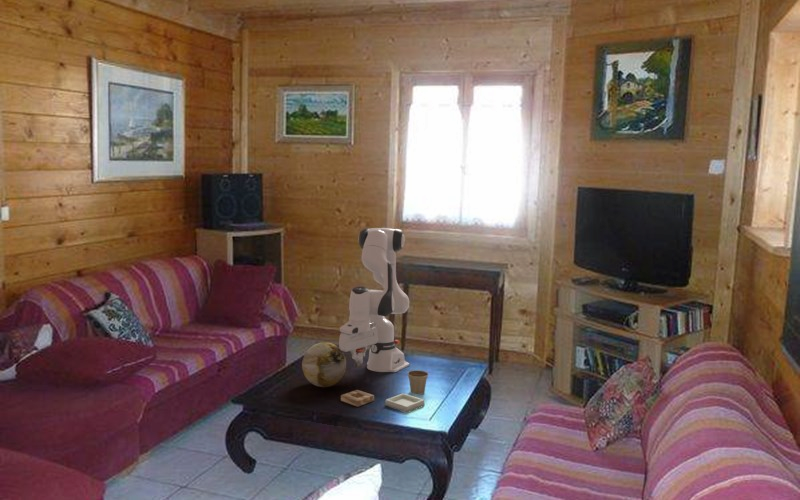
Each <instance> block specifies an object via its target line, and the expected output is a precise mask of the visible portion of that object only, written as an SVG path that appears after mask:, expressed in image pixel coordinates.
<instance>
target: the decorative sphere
mask: <svg viewBox="0 0 800 500" xmlns="http://www.w3.org/2000/svg"><path fill="white" fill-rule="evenodd" d="M301 368H302V372H303V374H304V377H305V378H306V380H307V381H308V382H309V383H311V385H314V386H315V387H319V388H320V387H321V388H327V387H332V386H334V385H336V384H338V383H339V381H341V379H343V377H344V375H345V373H346V369H347V359H346V356H345V352H344V351H341V350H340V348H339V346H337V345H336V344H334V343H331V342H325V341H323V342H317V343H316V344H313V345H311V346H310V347H309V348H308V349H307V350H306V351H305V353H304V355H303V358H302V362H301Z"/></svg>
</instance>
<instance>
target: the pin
mask: <svg viewBox="0 0 800 500" xmlns="http://www.w3.org/2000/svg"><path fill="white" fill-rule="evenodd" d="M363 351H364V348H358V349H356V352H355V353H356V355H358V356H357V359H354V367H356V368H362V367H363V363H364V357H363Z"/></svg>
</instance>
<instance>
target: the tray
mask: <svg viewBox="0 0 800 500" xmlns="http://www.w3.org/2000/svg"><path fill="white" fill-rule="evenodd" d="M384 405H385V406H386V407H389V408H391V409H395V410H396V411H401V412H404V413H409V411H410V412H412V411H414V409H415V410H416V408H417V409H420V408H421V406H422V407H425V399H423V398H419V397H416V396H413V395H410V394H407V393H401V394H398V395H395V396H392V397H389V398H386V399H385V403H384ZM419 407H420V408H419Z"/></svg>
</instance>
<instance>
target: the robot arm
mask: <svg viewBox="0 0 800 500" xmlns="http://www.w3.org/2000/svg"><path fill="white" fill-rule="evenodd" d="M405 242H406V237H405V233H404V231H403V230H402V229H399V228H395V229H394V228H390V227H388V228H387V227H375V228H373V227H372V228H371V227H370V228H369V227H365V228H363V229H361V230H360V232H359V234H358V244H359V247H360V248H361V249H362V252H361V262H362V264H363V267H365V268H366V269H367V270H368V271H370V272H371V273H372V278H373V279H374V281H375V282H376V283H377V284H380V286H382V288H383V290H381V289H369V288H368V287H367V286H356V287H352V289H351V291H350V295H349V305H348V309H349V317H348V321H347V322H346V323H344V324H343V325H342V326H340V327H339V332H340V333H339V334H340V335H339V338H338V339H339V341H338V344H339V345H338V347H339V348H340V350H341V351H342V352H343V353H347V352H350V354H351V358H352V359H353V360H355V359H357V356H358V355H356V353H355V352H356V349H358V348H364V351H363V358H364V357H366V352H367V350H368V346H369V347H370V348H369V351H368V352H369V353H368V360H367V362H366V368H367V369H368V370H369V371H372V372H378V373H397V372H398V371H401V370H403V369H405V368H407V367H409V366H410V363H409V362H408V361H406V359H405V354H404V352H403V351H401V350H400V349H399V348H397V346H396V345H399V344H400V340H398V339H395V338H394V335H395V333H394V332H395V326H394V324H393V323H392V322H391V320H389V319H387V318H386V317H388V316H389V315H390V316H391V315H401V314H405V313H406V312H407V311H408V310H409V307H410V298H409V296H408V295H407V294H406V293H405V292H404V291H403V290H402V288H401V287H400V285H399V284H398V281H397V267H396V265H397V255H396V254H397V253H398V252H400V251H402V250H403V249H404V245H405ZM394 339H395V340H394Z"/></svg>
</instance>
